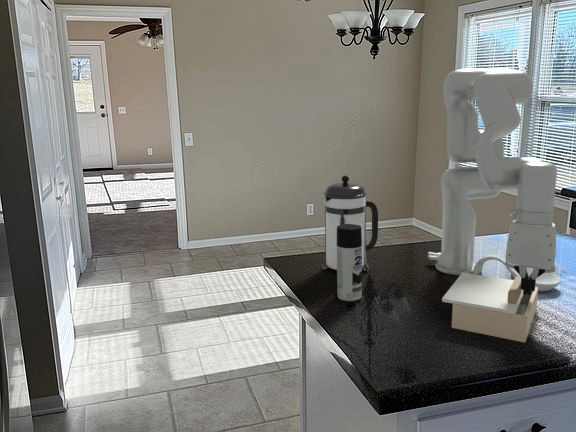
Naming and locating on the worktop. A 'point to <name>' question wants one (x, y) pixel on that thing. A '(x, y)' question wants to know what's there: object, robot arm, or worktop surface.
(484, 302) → the lid
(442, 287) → the worktop surface
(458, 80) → the robot arm
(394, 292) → the worktop surface
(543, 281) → the spoon rest
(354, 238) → the spray can
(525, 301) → the box
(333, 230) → the coffee press
